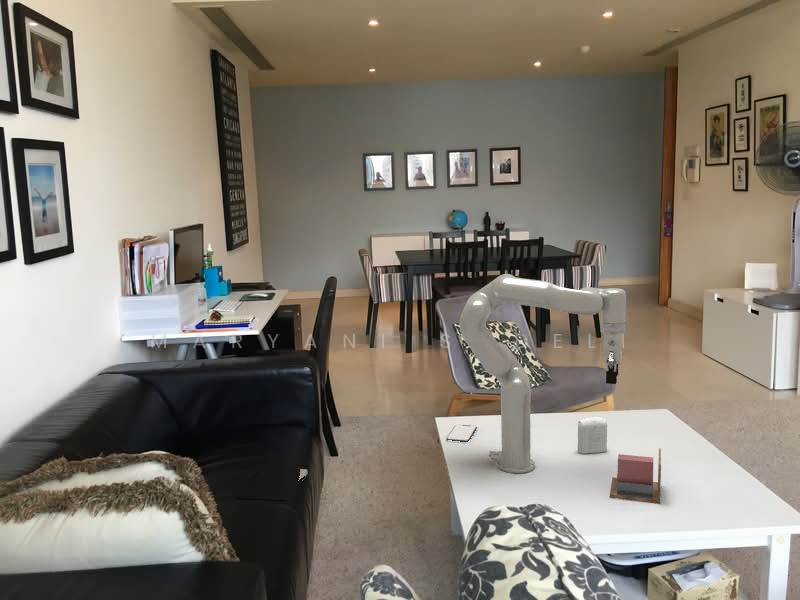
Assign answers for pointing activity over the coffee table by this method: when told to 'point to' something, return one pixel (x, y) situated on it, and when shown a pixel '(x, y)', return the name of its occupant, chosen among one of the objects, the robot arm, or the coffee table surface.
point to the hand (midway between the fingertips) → (612, 379)
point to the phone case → (462, 433)
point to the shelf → (655, 497)
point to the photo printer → (592, 435)
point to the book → (635, 469)
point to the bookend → (635, 490)
